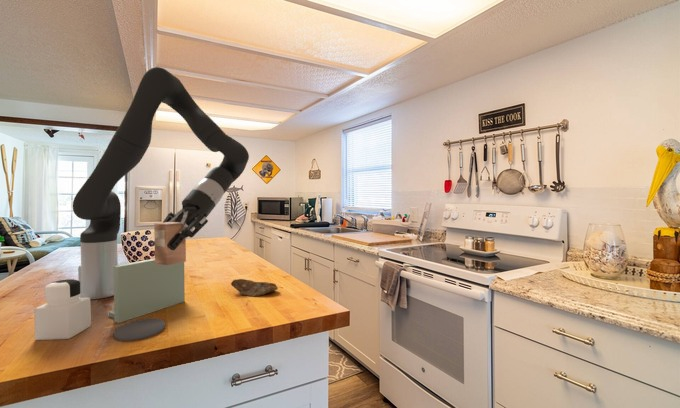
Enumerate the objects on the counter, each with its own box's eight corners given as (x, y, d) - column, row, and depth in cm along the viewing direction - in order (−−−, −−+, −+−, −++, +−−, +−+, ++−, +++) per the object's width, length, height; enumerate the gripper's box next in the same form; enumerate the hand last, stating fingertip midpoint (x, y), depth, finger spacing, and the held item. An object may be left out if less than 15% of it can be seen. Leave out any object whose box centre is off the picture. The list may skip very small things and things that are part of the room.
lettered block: (153, 263, 79) (153, 223, 79) (173, 259, 84) (173, 221, 83) (166, 265, 77) (165, 224, 76) (185, 261, 81) (185, 222, 81)
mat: (102, 339, 70) (102, 334, 70) (137, 321, 80) (137, 317, 80) (143, 342, 68) (143, 338, 68) (174, 323, 78) (174, 319, 78)
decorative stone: (239, 273, 109) (282, 279, 108) (238, 285, 109) (280, 292, 108) (227, 280, 100) (274, 287, 98) (226, 293, 100) (272, 301, 99)
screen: (118, 323, 79) (117, 267, 78) (104, 317, 82) (102, 263, 81) (184, 301, 94) (184, 254, 94) (170, 297, 98) (169, 252, 97)
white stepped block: (60, 327, 76) (58, 277, 76) (91, 326, 77) (90, 277, 76) (34, 340, 69) (32, 286, 69) (69, 339, 70) (67, 285, 69)
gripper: (178, 188, 90) (134, 235, 79) (213, 188, 83) (171, 240, 73) (195, 206, 95) (156, 253, 84) (229, 208, 88) (191, 259, 78)
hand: (163, 247), depth 79 cm, fingers closed on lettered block, 5 cm apart
